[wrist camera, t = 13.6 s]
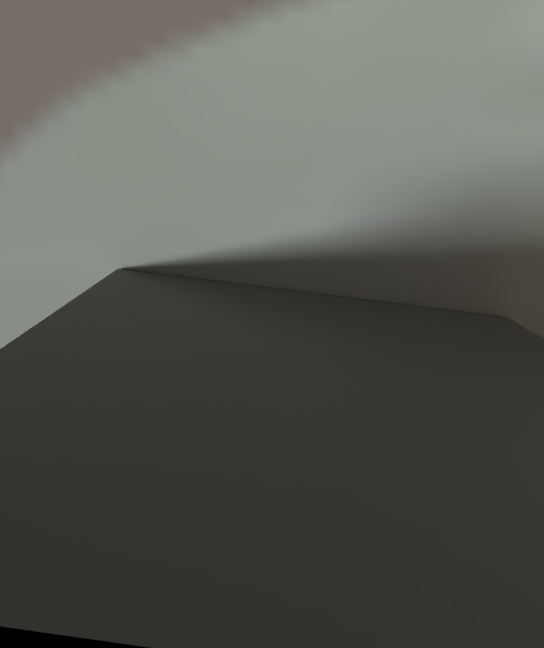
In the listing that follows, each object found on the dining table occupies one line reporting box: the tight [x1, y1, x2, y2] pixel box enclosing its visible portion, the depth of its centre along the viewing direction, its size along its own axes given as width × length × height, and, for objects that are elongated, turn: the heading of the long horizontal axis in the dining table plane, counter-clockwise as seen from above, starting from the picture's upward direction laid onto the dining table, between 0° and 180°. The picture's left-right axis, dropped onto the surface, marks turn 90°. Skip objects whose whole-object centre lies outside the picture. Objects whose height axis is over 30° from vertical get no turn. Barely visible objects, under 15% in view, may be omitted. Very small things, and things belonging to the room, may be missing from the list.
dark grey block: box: [0, 269, 544, 648], centre depth 6 cm, size 8×8×8 cm
